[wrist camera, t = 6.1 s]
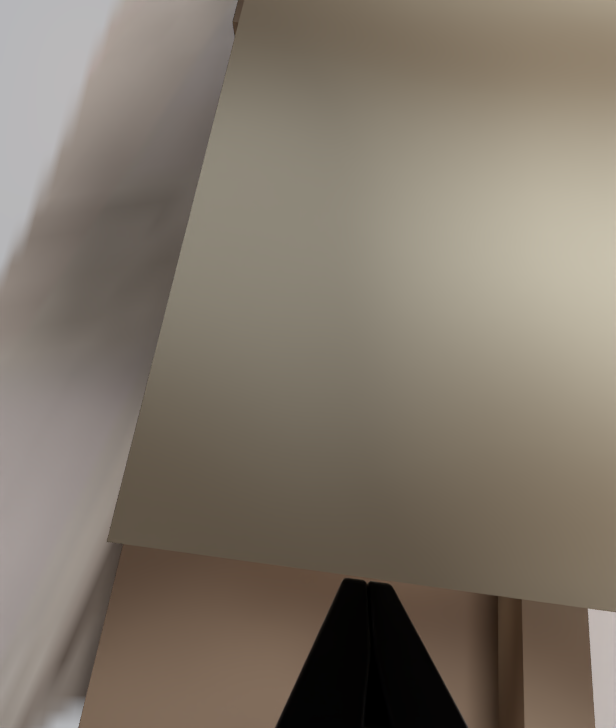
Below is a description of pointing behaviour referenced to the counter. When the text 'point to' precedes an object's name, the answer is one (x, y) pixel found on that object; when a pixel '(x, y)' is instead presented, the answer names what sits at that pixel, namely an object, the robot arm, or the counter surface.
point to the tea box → (397, 304)
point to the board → (296, 637)
